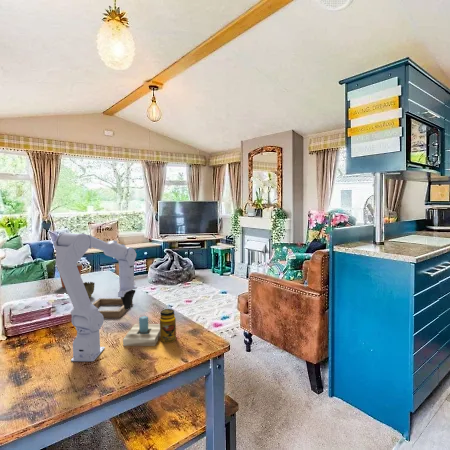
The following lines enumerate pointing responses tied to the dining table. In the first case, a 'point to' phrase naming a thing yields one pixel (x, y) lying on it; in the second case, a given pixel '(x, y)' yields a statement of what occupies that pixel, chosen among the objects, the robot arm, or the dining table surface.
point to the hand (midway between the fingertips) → (127, 308)
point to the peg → (143, 325)
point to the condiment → (167, 326)
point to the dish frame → (111, 302)
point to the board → (142, 336)
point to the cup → (89, 288)
